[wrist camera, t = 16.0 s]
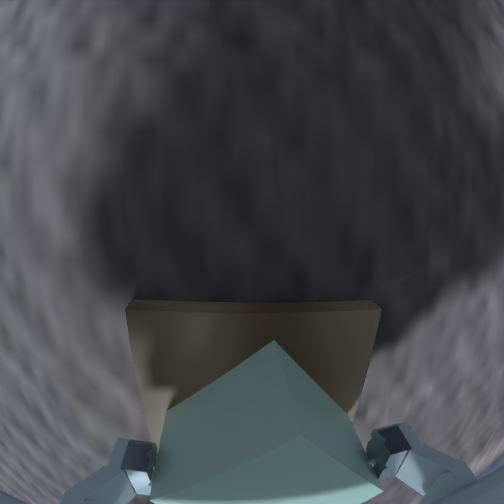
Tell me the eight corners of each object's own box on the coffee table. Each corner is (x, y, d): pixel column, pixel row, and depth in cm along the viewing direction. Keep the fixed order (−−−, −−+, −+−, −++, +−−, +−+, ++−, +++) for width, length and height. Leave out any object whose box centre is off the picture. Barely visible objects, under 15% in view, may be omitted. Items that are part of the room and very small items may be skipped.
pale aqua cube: (251, 468, 14) (259, 544, 9) (166, 410, 12) (148, 500, 7) (347, 413, 13) (383, 491, 8) (274, 339, 12) (300, 434, 7)
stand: (161, 455, 14) (149, 525, 9) (132, 298, 12) (85, 368, 7) (333, 451, 15) (357, 515, 10) (371, 299, 13) (434, 360, 8)
